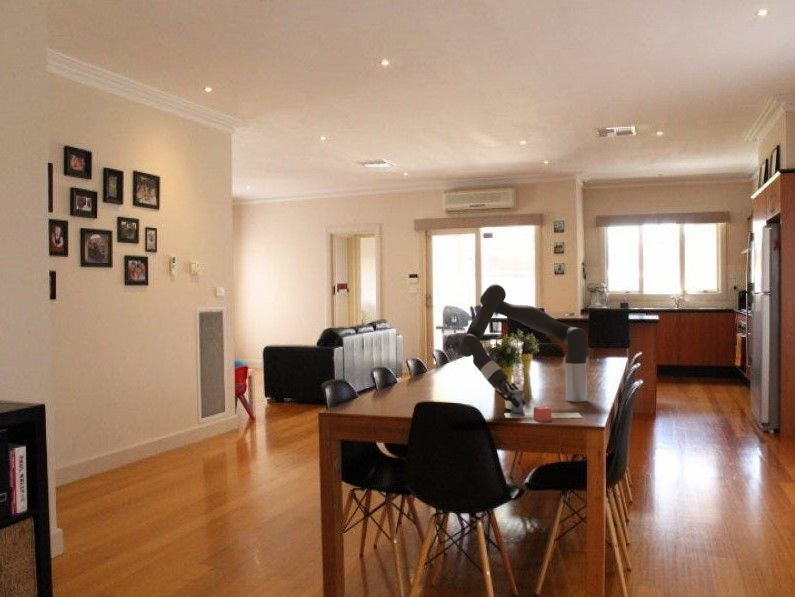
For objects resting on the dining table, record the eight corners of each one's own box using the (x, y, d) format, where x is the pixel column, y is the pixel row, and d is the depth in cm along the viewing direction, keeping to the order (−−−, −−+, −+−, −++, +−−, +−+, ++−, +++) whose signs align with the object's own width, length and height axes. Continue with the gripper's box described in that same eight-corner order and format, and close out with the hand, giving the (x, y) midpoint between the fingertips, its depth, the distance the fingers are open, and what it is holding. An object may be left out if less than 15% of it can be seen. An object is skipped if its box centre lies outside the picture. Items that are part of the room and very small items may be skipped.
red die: (533, 419, 266) (533, 405, 266) (545, 418, 267) (545, 405, 267) (539, 422, 261) (539, 407, 261) (551, 421, 262) (551, 407, 262)
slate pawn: (509, 414, 277) (508, 389, 277) (524, 413, 277) (523, 389, 276) (510, 416, 271) (509, 391, 271) (525, 416, 271) (525, 391, 271)
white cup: (509, 410, 287) (508, 387, 287) (501, 407, 294) (500, 384, 294) (526, 409, 289) (525, 386, 289) (517, 406, 297) (517, 383, 297)
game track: (503, 414, 279) (503, 413, 279) (578, 413, 277) (578, 412, 277) (505, 418, 269) (505, 417, 269) (582, 418, 267) (582, 417, 267)
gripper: (496, 378, 287) (523, 409, 280) (480, 382, 275) (507, 414, 268) (507, 366, 284) (534, 397, 277) (491, 370, 272) (519, 402, 265)
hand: (521, 405), depth 273 cm, fingers closed on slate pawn, 4 cm apart
